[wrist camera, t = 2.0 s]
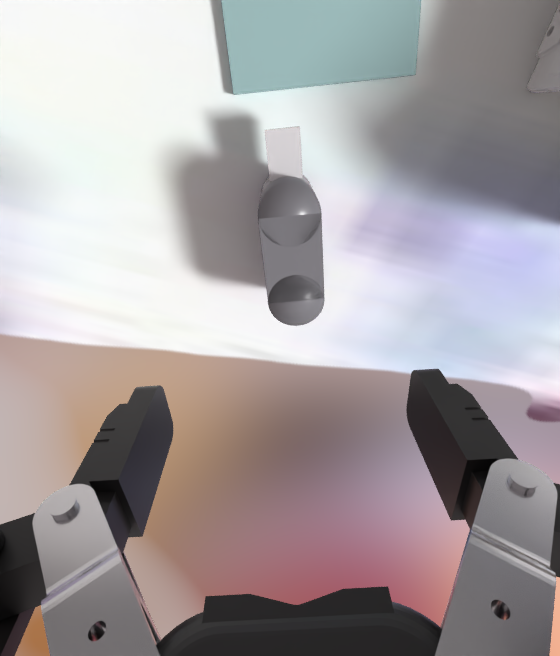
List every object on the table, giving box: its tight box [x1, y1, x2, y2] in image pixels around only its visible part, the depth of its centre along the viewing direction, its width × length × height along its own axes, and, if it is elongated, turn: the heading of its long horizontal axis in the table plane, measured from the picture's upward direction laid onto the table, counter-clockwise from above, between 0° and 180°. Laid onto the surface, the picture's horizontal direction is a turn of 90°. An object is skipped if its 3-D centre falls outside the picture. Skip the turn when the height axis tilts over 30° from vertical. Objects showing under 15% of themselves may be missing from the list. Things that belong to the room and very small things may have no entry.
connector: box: [258, 126, 324, 326], centre depth 27 cm, size 4×13×6 cm, turn 5°
